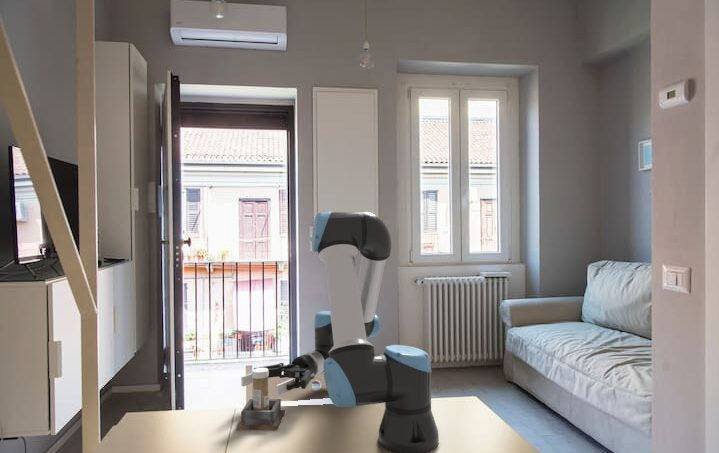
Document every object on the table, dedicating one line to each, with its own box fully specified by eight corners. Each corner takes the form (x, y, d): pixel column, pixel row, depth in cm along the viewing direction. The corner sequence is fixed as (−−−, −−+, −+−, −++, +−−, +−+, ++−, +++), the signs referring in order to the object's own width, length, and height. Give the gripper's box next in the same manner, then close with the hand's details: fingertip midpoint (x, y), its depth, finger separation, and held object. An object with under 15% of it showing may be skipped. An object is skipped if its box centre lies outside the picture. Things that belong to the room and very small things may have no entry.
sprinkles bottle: (272, 418, 125) (271, 370, 125) (256, 422, 122) (255, 373, 122) (265, 412, 129) (264, 366, 129) (250, 416, 126) (249, 369, 126)
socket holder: (284, 413, 131) (284, 397, 131) (277, 430, 120) (276, 413, 120) (247, 413, 131) (247, 397, 131) (236, 430, 120) (236, 413, 120)
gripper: (339, 384, 136) (292, 408, 118) (279, 371, 149) (229, 390, 132) (339, 360, 136) (292, 380, 118) (278, 348, 150) (228, 365, 132)
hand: (259, 386), depth 125 cm, fingers open, 13 cm apart
